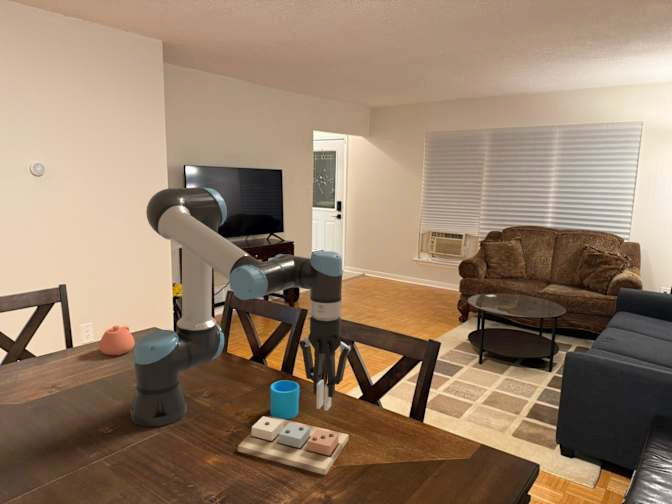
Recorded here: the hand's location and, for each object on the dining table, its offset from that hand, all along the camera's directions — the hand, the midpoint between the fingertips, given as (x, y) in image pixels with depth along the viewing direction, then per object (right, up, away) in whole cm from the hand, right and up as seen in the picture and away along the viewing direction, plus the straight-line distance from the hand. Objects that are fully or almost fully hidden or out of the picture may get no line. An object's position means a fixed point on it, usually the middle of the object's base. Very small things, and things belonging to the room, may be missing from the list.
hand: (323, 407), depth 117 cm
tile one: (-15, -9, +8) cm, 19 cm away
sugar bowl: (-81, 0, +64) cm, 103 cm away
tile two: (-8, -10, +5) cm, 13 cm away
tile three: (0, -11, +2) cm, 11 cm away
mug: (-11, -9, +23) cm, 27 cm away
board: (-8, -12, +5) cm, 15 cm away
